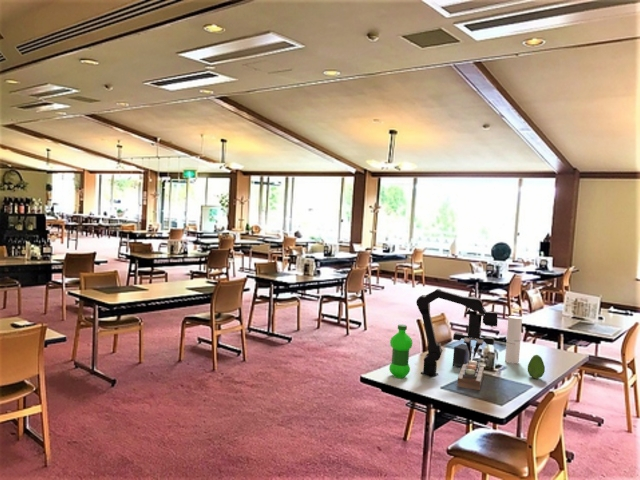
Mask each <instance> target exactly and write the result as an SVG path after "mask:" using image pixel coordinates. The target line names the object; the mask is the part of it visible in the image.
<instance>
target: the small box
mask: <svg viewBox="0 0 640 480" xmlns="http://www.w3.org/2000/svg"><path fill="white" fill-rule="evenodd" d="M472 351H473V346H472V345H471V356H470V353H469V350H468V347H467V345H466V343H464V344H463V343H460V344H458V345H455V346H454V347H453V360H452V367H456V368H460V369H462V366H463V364H467V363H469V361H470V360H472V354H473V352H472Z"/></svg>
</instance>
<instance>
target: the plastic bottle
mask: <svg viewBox="0 0 640 480" xmlns="http://www.w3.org/2000/svg"><path fill="white" fill-rule="evenodd" d="M407 328H408V326H407V325H406V324H398V325H397V330H398V332H396V334H394V335H393V336H392V337H391V338H390V343H389V344H390V347H391V348H392V353H391V354H392V355H391V363H390V365H389V373H390V374H391V375H392V376H393V377H394V378H397V379H404V378H406V377H407V376H408V374H409V373H410V371H411V367H410V364H409V358H410V356H409V355H410V350H411V348H412V347H413V339H412V338H411V336H410V335H409V334H407V332H406V330H407Z"/></svg>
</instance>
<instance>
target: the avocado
mask: <svg viewBox="0 0 640 480" xmlns="http://www.w3.org/2000/svg"><path fill="white" fill-rule="evenodd" d="M545 367H546V366H545V364H544V361H543V358H542V357H541V356H540V355H538V354H534V355H532V357H531V358H530V361H529V362H528V364H527V372H528V375H529V376H530V377H531V378H533V379H536V380H537V379H540V378H541V377H543V376H544V375H545V372H546V370H545Z"/></svg>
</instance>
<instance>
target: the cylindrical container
mask: <svg viewBox="0 0 640 480" xmlns="http://www.w3.org/2000/svg"><path fill="white" fill-rule="evenodd" d="M522 325H523V318H522V316H517V315H516V316H515V315H509V316H508V317H507V330H506V331H507V332H506V344H505V356H504V361H505V362H506V363H508V364H513V363H517V364H519V363H520V353H521V352H520V350H521V339H522Z"/></svg>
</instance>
